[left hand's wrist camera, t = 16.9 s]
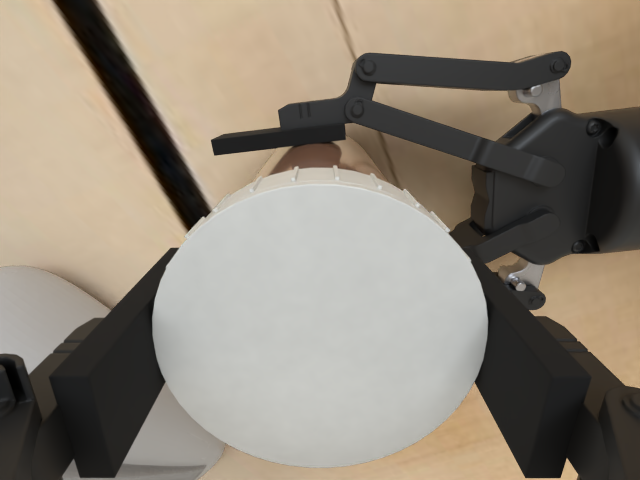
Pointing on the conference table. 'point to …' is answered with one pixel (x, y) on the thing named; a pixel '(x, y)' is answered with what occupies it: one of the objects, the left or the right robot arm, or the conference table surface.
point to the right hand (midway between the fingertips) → (235, 223)
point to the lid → (320, 319)
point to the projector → (51, 330)
